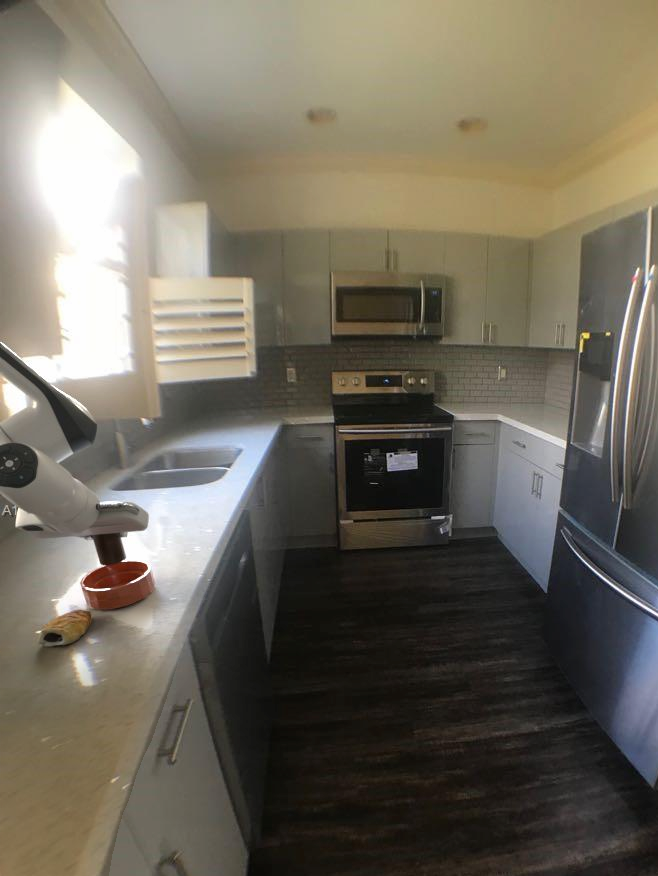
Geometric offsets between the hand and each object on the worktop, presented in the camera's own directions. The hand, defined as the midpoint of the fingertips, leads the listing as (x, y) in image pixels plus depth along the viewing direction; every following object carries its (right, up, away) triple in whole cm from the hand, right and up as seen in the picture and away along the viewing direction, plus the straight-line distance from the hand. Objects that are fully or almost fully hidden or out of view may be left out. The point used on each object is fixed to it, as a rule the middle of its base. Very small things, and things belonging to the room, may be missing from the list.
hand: (107, 535), depth 94 cm
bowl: (0, -13, +4) cm, 14 cm away
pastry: (-2, -18, -8) cm, 20 cm away
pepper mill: (0, -5, +1) cm, 5 cm away
